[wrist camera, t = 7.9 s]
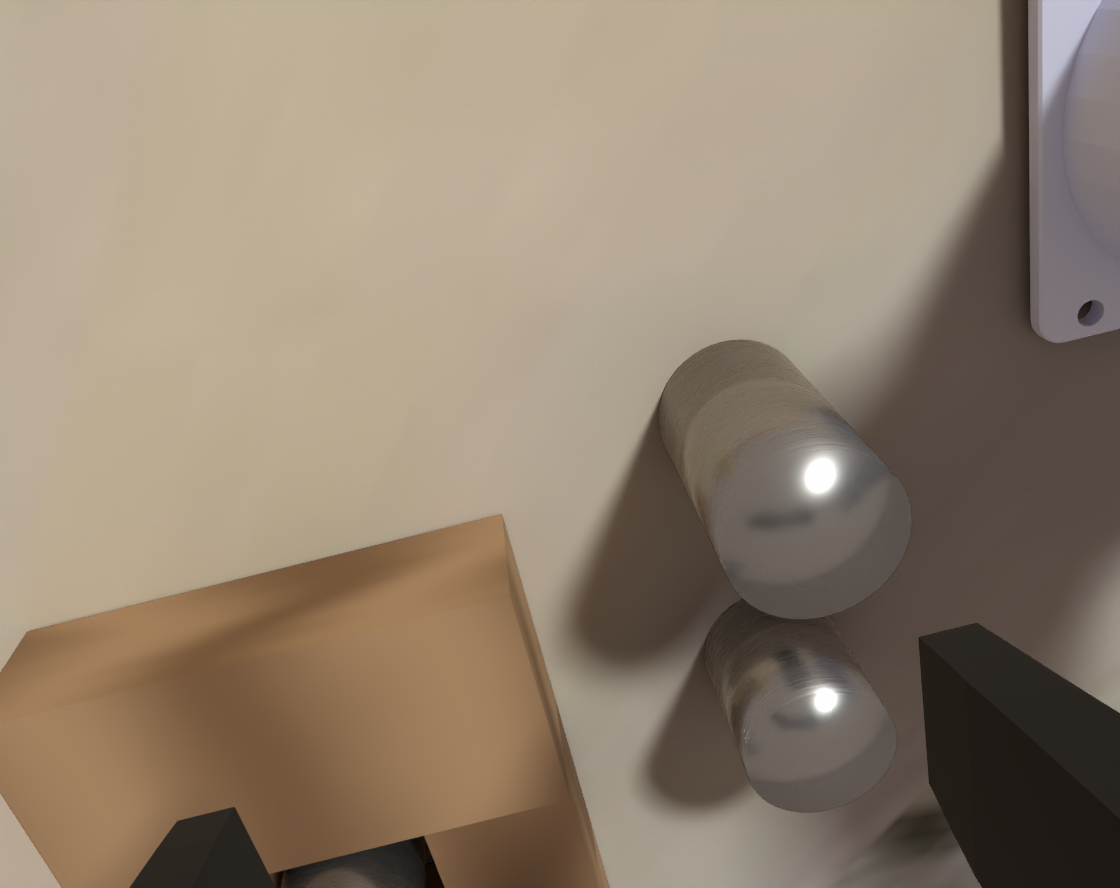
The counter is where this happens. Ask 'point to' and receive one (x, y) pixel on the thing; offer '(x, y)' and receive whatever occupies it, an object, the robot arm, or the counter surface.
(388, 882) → the pin tall
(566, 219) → the counter surface
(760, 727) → the pin short
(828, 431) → the pin medium
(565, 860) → the hole block
